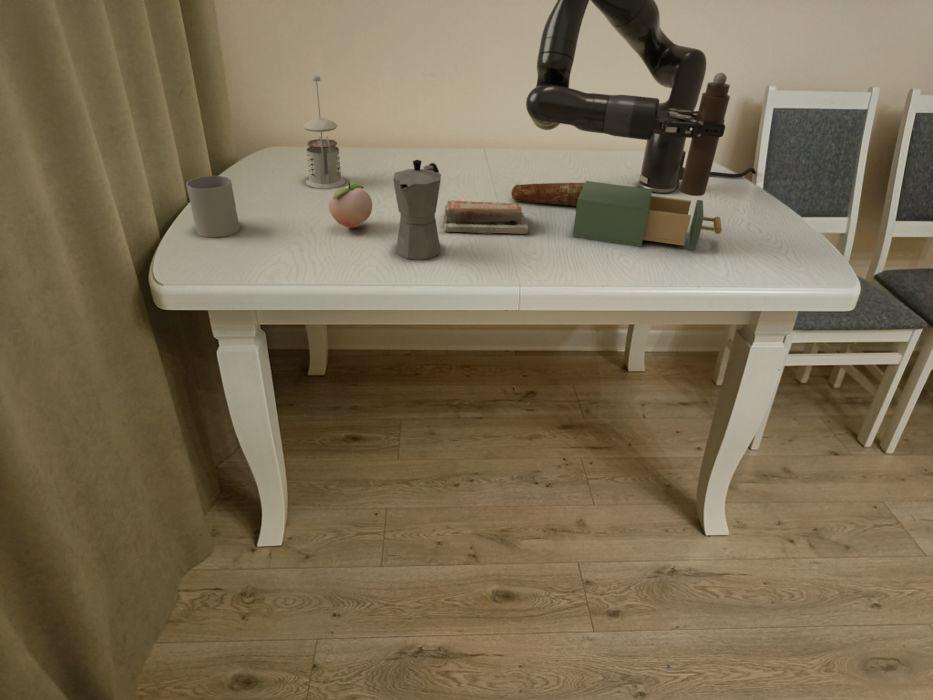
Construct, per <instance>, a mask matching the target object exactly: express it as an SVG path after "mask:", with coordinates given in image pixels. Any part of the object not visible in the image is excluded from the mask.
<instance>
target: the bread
mask: <svg viewBox="0 0 933 700" xmlns="http://www.w3.org/2000/svg"><path fill="white" fill-rule="evenodd" d="M584 185H585V182H551V183H549V182H547V183H528V184H527V183H526V184H523V183H522V184H516V185H514V186H513V187H512V189H511V198H512V200H514V201H516V202H525V203H535V204H547V205H561V206H571V207H577V201H578V197H579V195H580V193H581V191H582V189H583V187H584Z"/></svg>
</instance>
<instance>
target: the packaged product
mask: <svg viewBox="0 0 933 700" xmlns="http://www.w3.org/2000/svg"><path fill="white" fill-rule="evenodd" d="M525 215H526V214H525V212H523V210H522V206H521V205H519V204H518V203H511V202H510V203H508V202H492V201H471V200H470V201H468V200H447V202H446V205H445V206H444V218H443V230H444V232H447V233H450V232H451V233H475V234H485V235H489V234H490V235H491V234H512V235H513V234H515V235H516V234H517V235H518V234H519V235H527V234H528V230H529V225H528V223H527V219H526V216H525Z"/></svg>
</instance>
